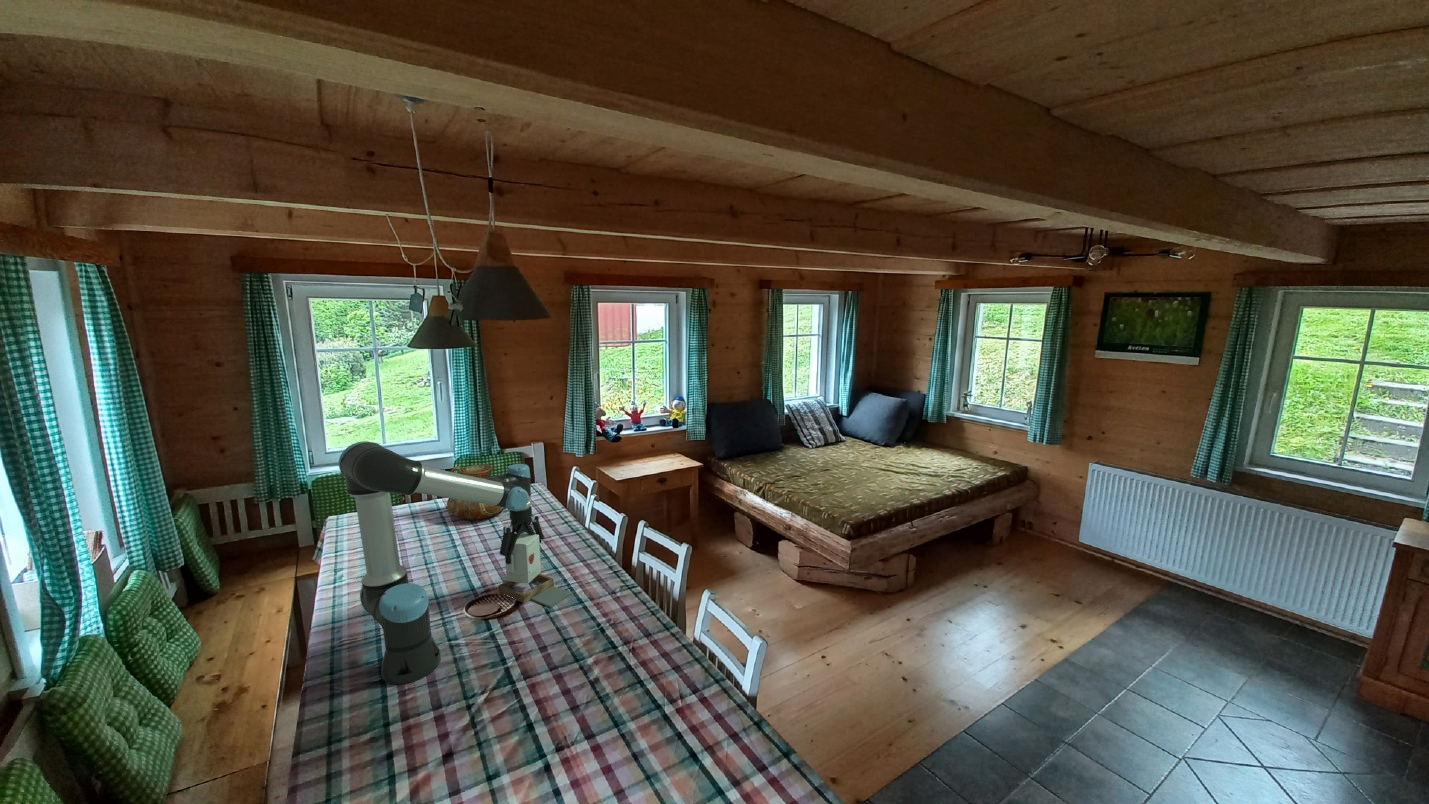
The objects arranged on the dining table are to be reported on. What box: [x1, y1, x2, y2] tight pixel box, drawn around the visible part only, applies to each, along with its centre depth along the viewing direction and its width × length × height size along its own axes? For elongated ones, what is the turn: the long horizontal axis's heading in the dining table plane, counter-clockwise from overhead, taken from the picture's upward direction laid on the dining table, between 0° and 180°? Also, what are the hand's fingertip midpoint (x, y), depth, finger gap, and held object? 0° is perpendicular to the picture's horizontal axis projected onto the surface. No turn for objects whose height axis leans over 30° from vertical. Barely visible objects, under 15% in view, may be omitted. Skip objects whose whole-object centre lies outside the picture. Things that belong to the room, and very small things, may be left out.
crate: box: [497, 573, 555, 604], centre depth 198 cm, size 14×14×3 cm
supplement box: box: [505, 532, 542, 584], centre depth 196 cm, size 9×9×15 cm
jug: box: [446, 463, 507, 522], centre depth 267 cm, size 30×30×25 cm
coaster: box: [530, 585, 573, 608], centre depth 193 cm, size 10×10×1 cm
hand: (523, 565), depth 196 cm, fingers closed on supplement box, 10 cm apart
